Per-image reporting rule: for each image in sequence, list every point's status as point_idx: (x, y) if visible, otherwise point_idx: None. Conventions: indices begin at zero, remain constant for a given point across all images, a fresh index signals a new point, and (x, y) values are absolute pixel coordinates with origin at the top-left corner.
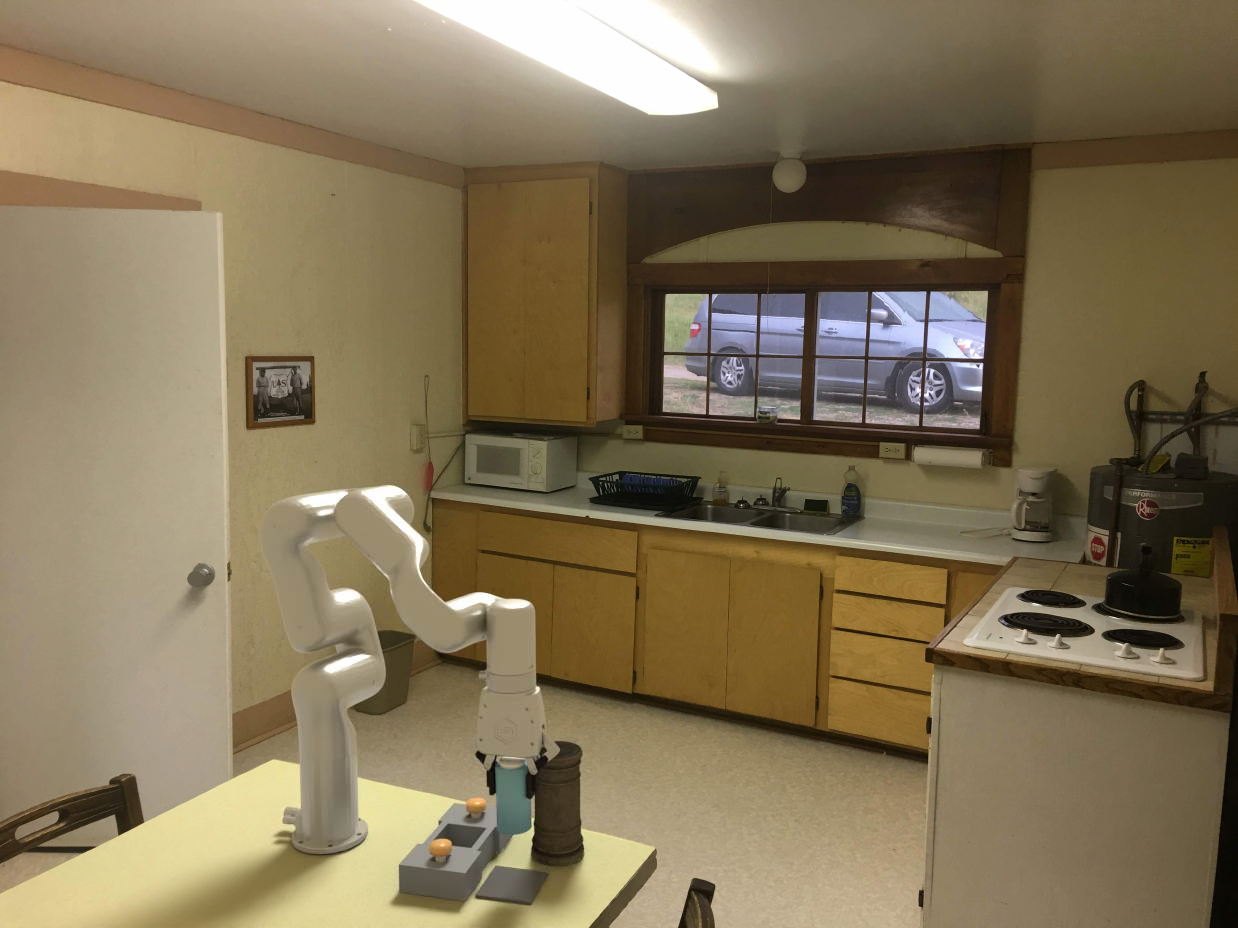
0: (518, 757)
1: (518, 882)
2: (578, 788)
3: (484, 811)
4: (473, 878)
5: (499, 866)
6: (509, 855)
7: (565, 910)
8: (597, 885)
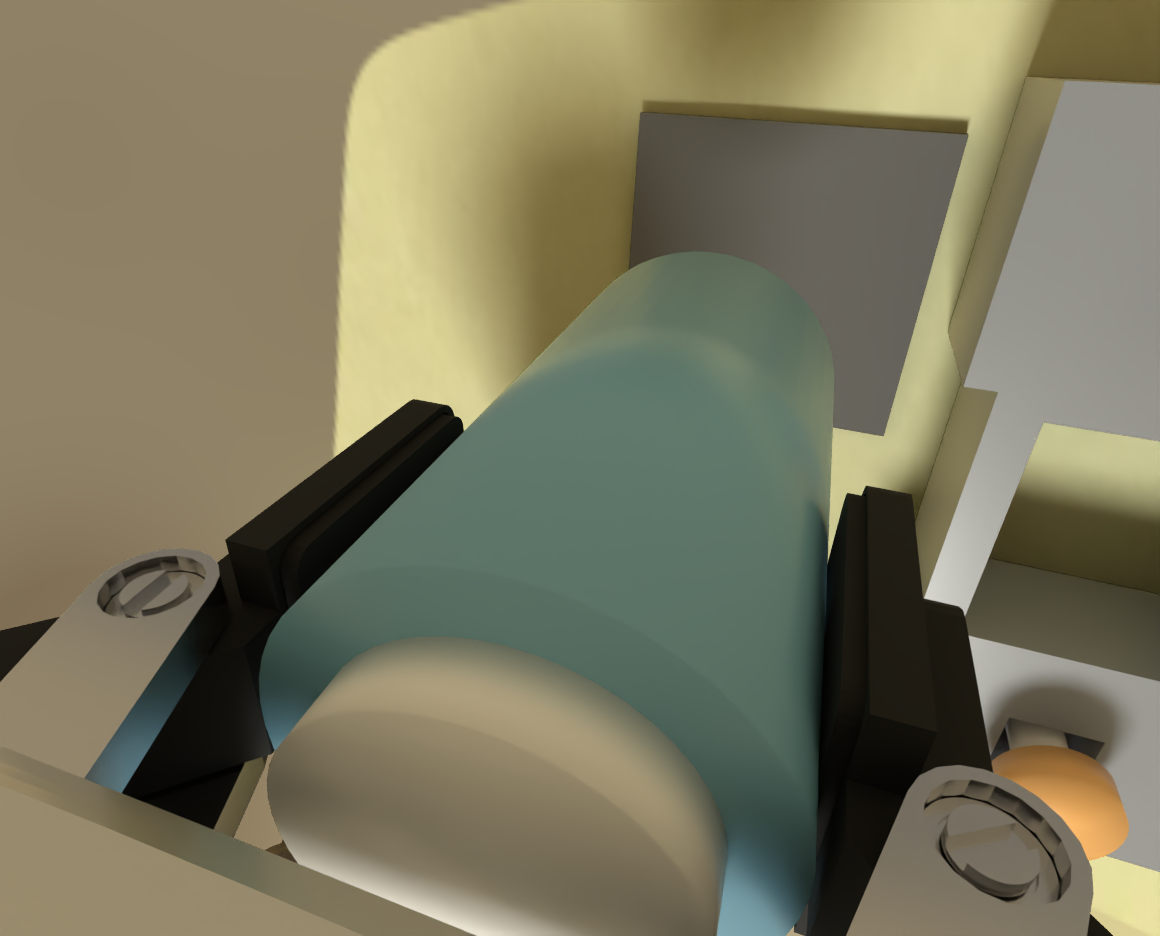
0: (33, 760)
1: None
2: None
3: None
4: (994, 221)
5: (861, 426)
6: (829, 530)
7: (478, 91)
8: (416, 315)
